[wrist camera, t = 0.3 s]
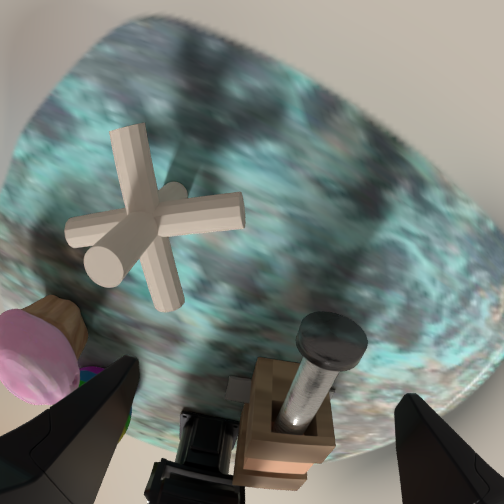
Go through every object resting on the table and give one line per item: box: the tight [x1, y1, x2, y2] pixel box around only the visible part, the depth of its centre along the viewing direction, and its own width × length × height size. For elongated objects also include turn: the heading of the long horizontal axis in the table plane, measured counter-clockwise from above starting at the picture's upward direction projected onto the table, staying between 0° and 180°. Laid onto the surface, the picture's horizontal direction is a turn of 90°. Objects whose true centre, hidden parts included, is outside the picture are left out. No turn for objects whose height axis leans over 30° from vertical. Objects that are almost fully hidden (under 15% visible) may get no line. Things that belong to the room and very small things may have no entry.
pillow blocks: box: [232, 357, 336, 491], centre depth 24 cm, size 10×6×8 cm, turn 170°
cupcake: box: [0, 295, 88, 405], centre depth 21 cm, size 9×9×10 cm
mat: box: [225, 376, 335, 403], centre depth 28 cm, size 3×10×1 cm, turn 79°
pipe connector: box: [64, 123, 245, 312], centre depth 16 cm, size 10×10×10 cm
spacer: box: [243, 422, 314, 474], centre depth 23 cm, size 2×5×5 cm, turn 79°
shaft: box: [271, 312, 368, 435], centre depth 21 cm, size 17×4×4 cm, turn 169°
